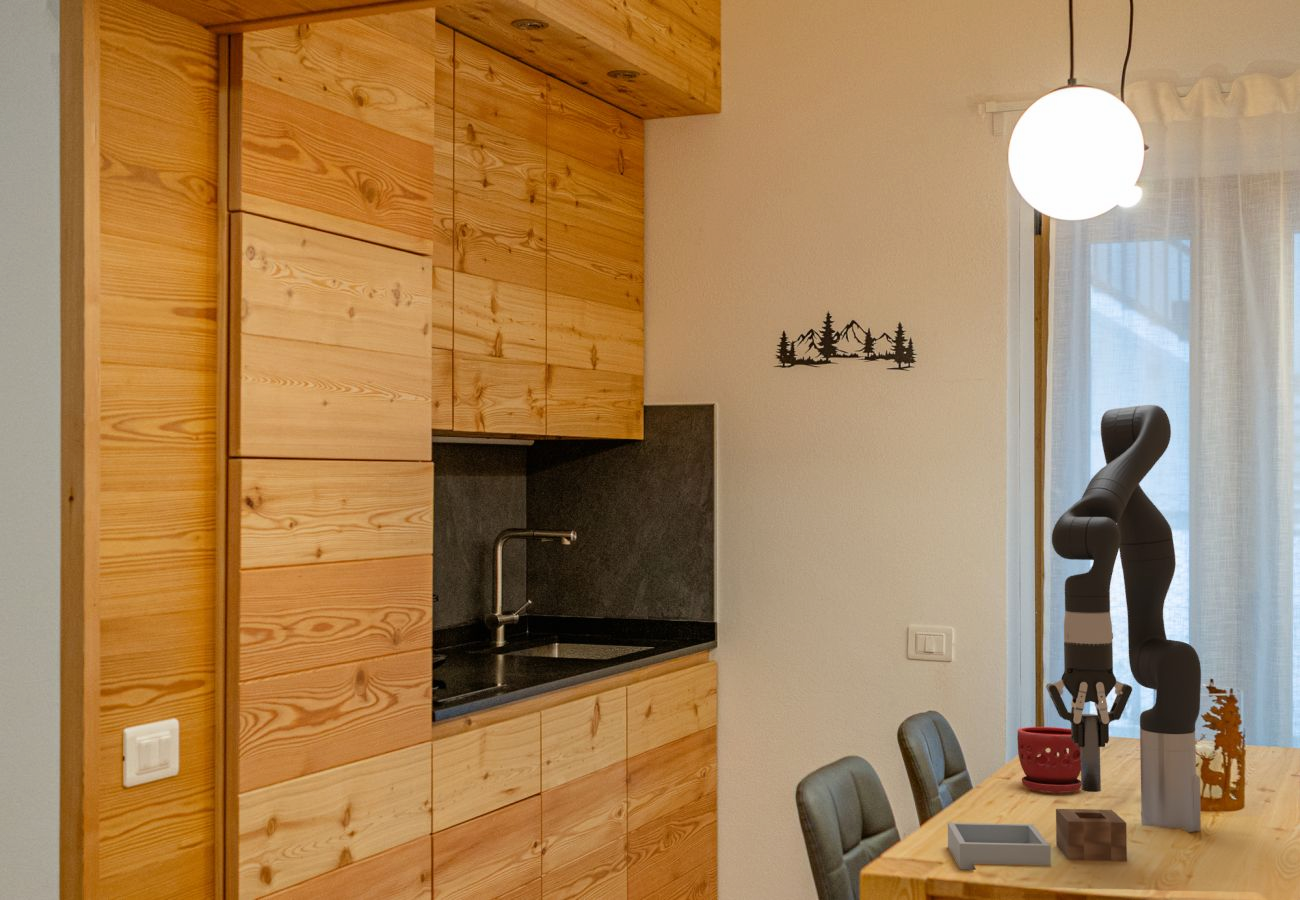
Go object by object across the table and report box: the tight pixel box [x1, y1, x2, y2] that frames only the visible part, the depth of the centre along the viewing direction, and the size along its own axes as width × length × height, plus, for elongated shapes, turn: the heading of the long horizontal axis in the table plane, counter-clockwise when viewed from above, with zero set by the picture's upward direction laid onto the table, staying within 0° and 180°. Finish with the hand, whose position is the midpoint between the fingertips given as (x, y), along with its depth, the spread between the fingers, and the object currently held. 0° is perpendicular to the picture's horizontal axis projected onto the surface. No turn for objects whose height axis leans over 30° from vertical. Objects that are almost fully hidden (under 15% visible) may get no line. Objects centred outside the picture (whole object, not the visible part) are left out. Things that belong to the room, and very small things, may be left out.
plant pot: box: [1016, 726, 1081, 795], centre depth 269 cm, size 13×13×12 cm
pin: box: [1080, 713, 1102, 793], centre depth 216 cm, size 3×3×12 cm
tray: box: [947, 822, 1052, 871], centre depth 215 cm, size 14×14×4 cm
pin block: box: [1055, 808, 1128, 862], centre depth 215 cm, size 9×9×7 cm
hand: (1089, 745), depth 216 cm, fingers closed on pin, 3 cm apart
